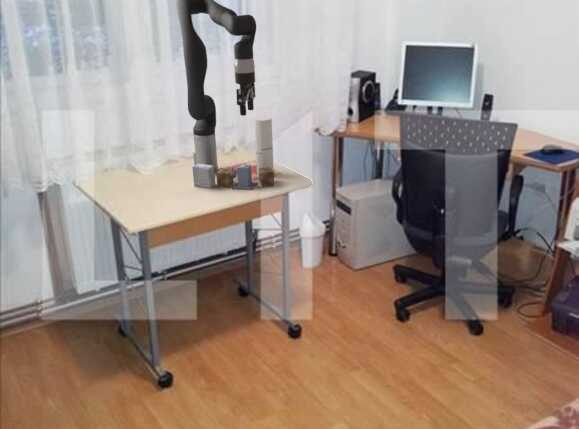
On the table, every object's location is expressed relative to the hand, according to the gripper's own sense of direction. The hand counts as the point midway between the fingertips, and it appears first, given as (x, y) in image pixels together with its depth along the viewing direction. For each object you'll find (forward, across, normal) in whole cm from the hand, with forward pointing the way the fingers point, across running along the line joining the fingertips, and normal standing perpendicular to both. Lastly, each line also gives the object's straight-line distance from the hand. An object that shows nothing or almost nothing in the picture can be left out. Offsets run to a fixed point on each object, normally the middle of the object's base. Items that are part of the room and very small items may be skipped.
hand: (247, 112), depth 249 cm
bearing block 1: (+31, +2, +12) cm, 34 cm away
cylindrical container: (+32, +16, -1) cm, 36 cm away
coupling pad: (+31, +2, +4) cm, 32 cm away
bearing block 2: (+31, +7, -4) cm, 32 cm away
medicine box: (+32, -1, +20) cm, 37 cm away
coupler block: (+31, +2, +4) cm, 31 cm away
